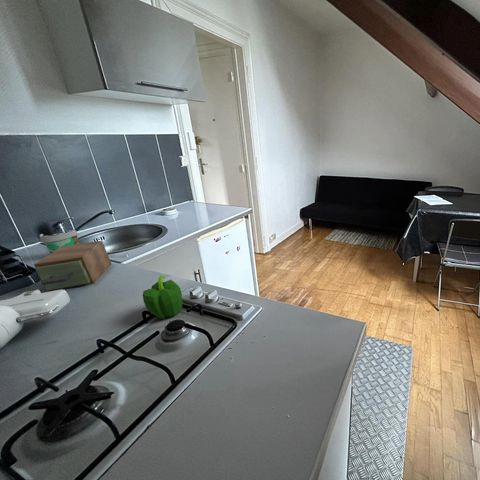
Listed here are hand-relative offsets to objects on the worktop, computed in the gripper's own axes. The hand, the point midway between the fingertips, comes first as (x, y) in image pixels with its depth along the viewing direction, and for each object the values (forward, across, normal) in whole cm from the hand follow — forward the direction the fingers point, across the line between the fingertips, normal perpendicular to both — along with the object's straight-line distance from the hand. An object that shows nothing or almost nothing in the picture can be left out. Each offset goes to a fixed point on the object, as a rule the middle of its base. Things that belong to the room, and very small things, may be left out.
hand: (33, 292), depth 69 cm
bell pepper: (-14, -33, +7) cm, 37 cm away
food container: (+46, +17, +6) cm, 49 cm away
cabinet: (+21, 0, +6) cm, 22 cm away
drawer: (+17, 0, +6) cm, 18 cm away
